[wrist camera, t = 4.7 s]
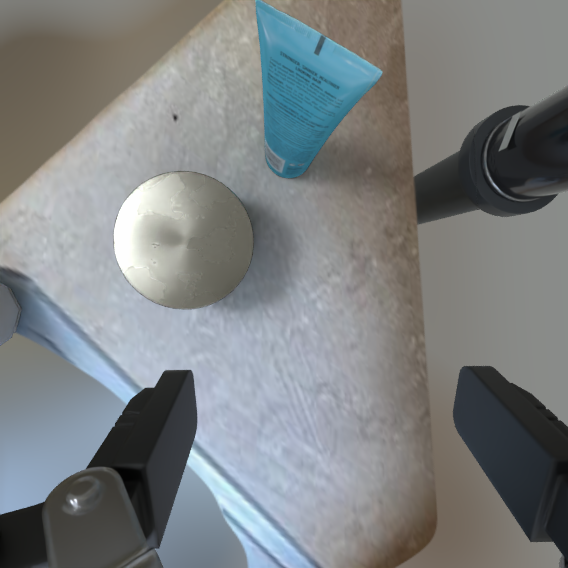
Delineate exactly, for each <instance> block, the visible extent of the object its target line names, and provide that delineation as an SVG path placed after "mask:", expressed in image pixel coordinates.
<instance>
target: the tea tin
mask: <svg viewBox="0 0 568 568" xmlns="http://www.w3.org/2000/svg"><path fill="white" fill-rule="evenodd" d="M253 248H254V236H253V229H252V225H251V221H250V218H249V216H248V213H247V211H246V209H245V207H244V206H243V204H242V202H241V201H240V200H239V198H238V197H237V196H236V195H235V194H234V193H233V192H232V191H231V190H230V189H229V188H228V187H226V186H225V185H224V184H223V183H221V182H219V181H217V180H216V179H214V178H212V177H209V176H207V175H204V174H200V173H196V172H189V171H175V172H168V173H164V174H161V175H158V176H155V177H153V178H151V179H149V180H147V181H146V182H144V183H142V184H141V185H140V186H139V187H137V188H136V189H135V190H134V191H133V192H132V193H131V194H130V195H129V197H128V198H127V199H126V201H125V202H124V204H123V205H122V207H121V209H120V211H119V214H118V216H117V219H116V223H115V227H114V250H115V255H116V259H117V262H118V265H119V267H120V269H121V271H122V273H123V275H124V276H125V278H126V279H127V281H128V282H129V283H130V284H131V285H132V287H133V288H134V289H135V290H137V291H138V292H139V293H140V294H141V295H143V296H144V297H145V298H147V299H149V300H151V301H152V302H154V303H156V304H159V305H162V306H165V307H169V308H173V309H196V308H201V307H205V306H208V305H211V304H213V303H215V302H218V301H219V300H221V299H223V298H224V297H226V296H227V295H228V294H229V293H231V292H232V291H233V290H234V289H235V288H236V287H237V286H238V284H239V283H240V282H241V280H242V279H243V278H244V276H245V274H246V272H247V270H248V268H249V265H250V263H251V259H252V255H253Z"/></svg>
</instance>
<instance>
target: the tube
mask: <svg viewBox="0 0 568 568" xmlns="http://www.w3.org/2000/svg"><path fill="white" fill-rule="evenodd" d="M256 15H257V24H258V33H259V42H260V54H261V67H262V82H263V101H264V128H265V157H266V161H267V164H268V166H269V168H270V169H271V170H272V171H273V172H274V173H275V174H277V175H278V176H281V177H284V178H294V177H297V176H300V175H301V174H303V173H304V172H305V171H306V170H307V168H308V167H309V165H310V164H311V162H312V161H313V159H314V158H315V156H316V155H317V153H318V152H319V150H320V149H321V147H322V146H323V144H324V143H325V142H326V140H327V139H328V137H329V136H330V135H331V133H332V132H333V131H334V129H335V128H336V127H337V126H338V124H339V123H340V122H341V121H342V119H343V118H344V117H345V116H346V114H347V113H348V112H349V111H350V110H351V109H352V108H353V106H354V105H355V104H356V103H357V102H358V101H359V100H360V99H361V97H362V96H363V95H364V94H365V93H366V92H367V91H369V90H370V89H371V88H372V87H373V86H374V85H375V84H376V82H377V81H378V80H379V78H380V77H381V75H382V73H383V72H382V70H380V69H379V68H377V67H376V66H374V65H372V64H371V63H369V62H367V61H366V60H364V59H363V58H361V57H359V56H358V55H356V54H355V53H353V52H351V51H349V50H348V49H346V48H345V47H343V46H341V45H339V44H338V43H336V42H334V41H333V40H331V39H329V38H327V37H326V36H324V35H323V34H321V33H319V32H318V31H316V30H314V29H313V28H311V27H309V26H308V25H305V24H304V23H302V22H301V21H299V20H297V19H295V18H293V17H291V16H290V15H288V14H286V13H283V12H281V11H279V10H277V9H275V8H274V7H272V6H270V5H269V4H267V3H265V2H263V1H262V0H256Z"/></svg>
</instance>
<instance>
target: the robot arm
mask: <svg viewBox="0 0 568 568" xmlns="http://www.w3.org/2000/svg"><path fill="white" fill-rule="evenodd" d="M481 170H482V173H483V176H484V179H485V181H486V183H487V184H488V186H489V187H490V188H491V190H492V191H493V192H494V193H496V194H497V195H498V196H500V197H501V198H503V199H506V200H508V201H512V202H528V201H532V200H536V199H539V198H541V197H545V196H549V195H553V194H558V193H562V192H566V191H568V85H567V86H565V87H563V88H561V89H560V90H558V91H556V92H555V93H553V94H552V95H549V96H548V97H546V98H544V99H542V100H541V101H539V102H537V103H536V104H534V105H532V106H530V107H528V108H527V109H525V110H523V111H522V112H521V111H520V112H519V113H517V114H515V115H513V116H512V117H510V118H508V119H506V120H504V121H503V122H501V123H499V124H498V125H497V126H495V127H494V128H493V129H492V130H491V132H490V133H489V134H488V136H487V137H486V139H485V141H484V144H483V147H482V151H481ZM453 418H454V423H455V427H456V429H457V431H458V433H459V435H460V436H461V437H462V439H463V441H464V442H465V444H466V445H467V447H468V448H469V450H470V451H471V452H472V454H473V456H474V457H475V458H476V460H477V461H478V463H479V465H480V466H481V468H482V469H483V471H484V472H485V474H486V475H487V477H488V478H489V480H490V481H491V483H492V484H493V486H494V487H495V489H496V490H497V492H498V493H499V495H500V496H501V498H502V499H503V501H504V502H505V504H506V505H507V507H508V508H509V510H510V511H511V513H512V514H513V516H514V517H515V519H516V520H517V522H518V523H519V525H520V526H521V528H522V529H523V531H524V532H525V534H526V535H527V537H528V538H529V540H530V542H554V543H555V545H556V546H557V547H558V549H559V550H560V551H561V553H562V555H561V558H560V562H559V568H568V427H567V426H566V425H565V424H564V423H563V422H562V421H558V418H557V417H556V416H555V415H554V414H553V413H552V412H551V411H550V410H549V409H546V407H545V406H544V405H543V404H542V403H541V402H540V401H539V400H538V399H536V398H535V397H534V396H533V395H532V394H530V393H529V392H527V391H525V390H524V389H522V388H520V387H518V386H517V385H515V384H513V383H509V382H508V381H507V380H506V379H505V378H504V377H503V376H502V375H501V374H500V373H499V372H498V371H497V370H496V369H495V368H493V367H491V366H464V367H462V369H461V370H460V373H459V379H458V385H457V391H456V396H455V402H454V409H453ZM196 429H197V407H196V397H195V388H194V378H193V373H192V371H191V370H165V371H164V372H163V374H162V376H161V377H160V379H159V381H158V383H157V384H156V386H155V388H145V389H143V390H142V391H141V392H140V393H138V394H137V395H136V396H134V397H133V398H132V399H131V400H130V401H129V403H128V405H127V406H126V408H125V409H124V411H123V412H122V415H121V416H120V417H119V418H118V420H117V422H116V423H115V427H113V428H112V429H111V431H110V432H109V434H108V436H107V437H106V439H105V440H104V442H103V443H102V445H101V446H100V448H99V449H98V451H97V453H96V454H95V456H94V457H93V459H92V460H91V462H90V463H89V465H88V466H87V468H86V469H85V470H82V471H80V472H77V473H75V474H74V475H71V476H70V477H68V478H67V479H65V480H64V481H62V482H61V483H60V484H59V485H58V486H56V487H55V488H54V489H53V491H52V492H51V493H50V494H49V496H48V497H47V499H46V500H45V502H43V503H40V504H37V505H34V506H30V507H27V508H23V509H19V510H16V511H12V512H8V513H5V514H2V515H0V568H163V565H162V563H161V561H160V558H159V556H158V554H157V552H156V550H155V549H154V548H159V547H160V544H161V541H162V538H163V535H164V531H165V529H166V525H167V522H168V519H169V516H170V513H171V510H172V507H173V503H174V500H175V497H176V494H177V491H178V488H179V485H180V482H181V479H182V475H183V472H184V469H185V466H186V463H187V460H188V457H189V454H190V450H191V447H192V444H193V441H194V438H195V434H196Z"/></svg>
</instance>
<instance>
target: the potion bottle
mask: <svg viewBox="0 0 568 568" xmlns="http://www.w3.org/2000/svg"><path fill="white" fill-rule="evenodd" d="M21 310H22V309H21V307H20V305H19V303H18V301H17V299H16V297H15V295H14V294H13V292H12V290H11V288H9V287H7V286H6V285H4V284H2V283H0V346H1V345H2V344H3V343H5V342H6V341H8V340H9V339H10V338H12V335H13V333H15V332H16V330H17V326H18V322H19V318H20V314H21Z"/></svg>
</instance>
